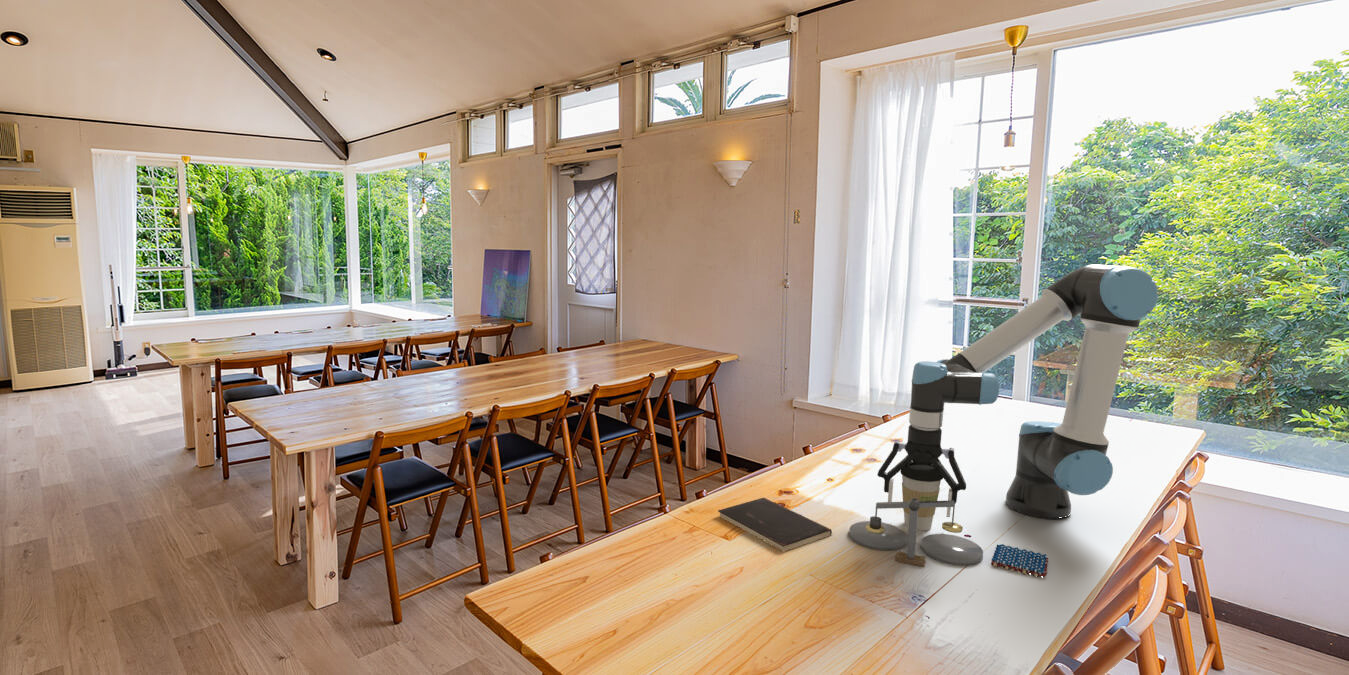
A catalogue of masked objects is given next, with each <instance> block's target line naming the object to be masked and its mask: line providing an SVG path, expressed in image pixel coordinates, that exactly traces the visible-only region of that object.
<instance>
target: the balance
mask: <svg viewBox="0 0 1349 675" xmlns="http://www.w3.org/2000/svg"><path fill="white" fill-rule="evenodd" d="M955 506H956V504H955V503H954V500H950V501H948V500H937V501H919V500H918V499H916V498H913V499H911V501H910V502H903V501H892V502H888V501H883V502H882V501H880V502H879V501H878V502H876V503H875V515H874V516H870V517H869V521H870V524H867V525H866V530H867V531H868V532H871V533H875V534H881V533H884V531H885V528H884V527H883V526H882V525H881V522H882V518H881V517H879V516H878V510H879V509H881V510H882V509H883V510H885V509H887V510H888V509H903V508H910V516H909V528H908V530H907V531H908V534H907V544H906V552H903V551H898V550H897V551H896V554H895V556H894V557H895V560H894V561H895V562H897V563H902V564H906V565H912V566H916V567H922V568H924V567H925V565H926V556H923V555H919V554H916V544H917V533H918V532H917V531H918V530H917V521H918V509H919V508H932V507H936V508H947V507H951V508H952V516H951V517H952V519H951V521H945V522H942V524H941V529H943V530H944V531H946V532H949V533H953V534H954V533H955V534H958V533H962V532H963V529H964V528H963V526H962V525H961V524H959V523H956V522H954V518H955Z"/></svg>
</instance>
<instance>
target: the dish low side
mask: <svg viewBox="0 0 1349 675" xmlns="http://www.w3.org/2000/svg"><path fill="white" fill-rule="evenodd" d="M867 524H870V520H864V521H863V520H862V521H857V522H856V523H853V524H852V525H851V526H850V527H849V537H850V539H851V540H852V541H853V542H855V543H856V544H858V545H860V546H862V547H864V548H865V547H866V548H869V549H873V550H877V551H896V550H897V551H898V550H900V549H902V548H904V547H907V543H908V534H907V533H906V531H904V530H903V529H901V528H900V527H898V526H895V525H893V524H890V523H887V522H882V521H881V525H882V526H883V527H884V528H885V531H884V533H881V534H875V533H871V532H868V531H867V530H866V525H867Z"/></svg>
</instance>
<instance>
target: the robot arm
mask: <svg viewBox="0 0 1349 675" xmlns="http://www.w3.org/2000/svg"><path fill="white" fill-rule="evenodd" d="M1158 299H1159V291H1158V286H1157V283H1156V282H1155V280H1154V279H1153V277H1152V276H1151V275H1150V274H1149V273H1148V272H1146V271H1145V270H1142V269H1141V268H1138V267H1134V266H1128V265H1114V264H1113V265H1111V264H1110V265H1109V264H1098V263H1097V264H1096V263H1094V264H1093V263H1092V264H1088V265H1085V266H1081V267H1079V268H1077V269H1075V270H1073V271H1071V272H1070V273H1068V274H1066V275H1064V276H1062V277H1061V278H1060V279H1058V280H1057V281H1055V282H1054V283H1052V284H1051V285H1049V286H1047V288H1044V290H1042V292H1041V297H1038V299H1036V300H1035V301H1033V302H1032V303H1030V304H1029V305H1026V307H1024V308H1022V309H1021V310H1020V311H1018V312H1017V313H1016V314H1014V315H1013V316H1011V317H1010V318H1008V319H1007V320H1005V321H1004V322H1003V323H1001V324H1000V325H998V326H997V327H995V328H994V329H993V330H992V329H991V331H990V332H988V333H986V334H985V335H984V336H982V337H981V338H979V339H978V340H976V341H975V342H973V343H972V344H970V345H968V346H967V347H966V348H965V349H963V350H962V351H960V352H959V353H957V354H955V355H954V356H952V357H951V358H949V359H948V358H947V359H940V360H938V361H928V360H927V361H919V362H916V363H915V365H914V366H913V370H912V377H911V393H910V395H911V396H910V407H909V415H908V416H909V418H908V423H909V426H908V430H907V441H906V443H904V442H900V441H899V440H895V441H894V443H893V446H892V450H891V451H890V453H889V454H888V456H887V458H886V459H885V460H884V462H883V463H882V465H881V467H880V468H879V470H878V472H877V477H879V478H882V479H883V480H884V482H883V483H884V485H883V490H884V493H887V495H888V496H887V502H893V491H894V480H895V479H894V478H893V477H895V476H896V475H897V474H898V473H899V472H900V471H901V469H903V468H904V466H906V465H907V464H909V463H910V462H911V461H913V462H915V463H916V464H924V465H931V464H933V466H934V467H935V468H936V469H937V470H938V471H940V474H941V475H942V477H943V479H944V481H945V482H946V483H947V485H948V486H949V487H948V496H947V501H950V500H954V503H955V505H956V504H957V501H958V493H959V491H965V490H966V489H967V482H966V480H965V479H964V476H963V474H962V471H961V469H960V467H959V464H958V462H957V460H956V457H955V449H954V448H953V447H949V448H942V446H941V444H942V443H941V442H942V434H943V432H942V431H943V430H942V427H943V421H944V410H945V404H964V405H965V404H967V405H979V406H981V405H993V404H994V403H995V402H996V401H997V400H998V398H999V395H1000V383H999V379H998V377H997V376H996V375H995V374H994V373H992V372H987V371H989V370H990V369H991V368H993V367H994V366H996V365H997V364H999V363H1000V362H1002V361H1003V360H1005V359H1006V358H1008V357H1009V356H1011V355H1012V354H1014V353H1015V352H1018V350H1020V349H1021V348H1022V347H1024V346H1026V345H1027V344H1028V343H1031V341H1033V340H1035V339H1037V338H1038V337H1039V336H1041V335H1043V334H1044V333H1045V332H1047V331H1048V330H1050V329H1052V328H1053V327H1054V326H1056V325H1057V324H1059V323H1060V322H1062V321H1067V322H1068V321H1070V320H1073V318H1076V317H1077V316H1080V317H1079V319H1080V322H1082V324H1083V325H1084V327H1085V328H1084V333H1083V335H1082V336H1083V338H1082V341H1081V345H1080V349H1079V353H1078V357H1077V362H1076V366H1075V369H1074V374H1073V377H1072V382H1071V387H1070V390H1069V394H1068V399H1067V403H1066V408H1065V411H1064V415H1063V418H1062V423H1060V422H1052V421H1039V420H1038V421H1037V420H1036V421H1025V422H1023V423H1022V424H1021V426H1020V430H1019V433H1018V446H1017V447H1018V448H1017V460H1016V470H1015V476H1014V478H1013V480H1012V481H1011V485H1009V488H1008V490H1007V492H1006V496H1005V503H1006V505H1007V506H1008V507H1009V508H1010V509H1012V510H1014V511H1016V512H1017V513H1018V512H1019V513H1021V514H1023V513H1024V515H1027V516H1031V517H1034V516H1035V517H1036V518H1040V517H1042V518H1041V519H1047V518H1059V517H1065V516H1068V515H1069V514H1070V513H1071V512H1072V504H1071V503H1072V502H1071V500H1070V494H1069V493H1071V494H1073V495H1077V496H1089V495H1094V494H1095V493H1097V492H1098V491H1101V490H1103V489H1104V488H1105V487H1106V486H1107V485H1108V484H1109V483H1110V481H1111V479H1112V477H1113V473H1114V472H1113V471H1114V469H1113V468H1114V467H1113V463H1112V462H1111V460H1110V458H1109V457H1108V456H1107V453H1108V449H1109V448H1108V447H1109V440H1108V439H1107V437H1106V435H1105V434H1104V432H1105V428H1106V424H1107V419H1108V417H1109V413H1110V409H1111V404H1112V401H1113V397H1114V393H1115V388H1116V384H1117V381H1118V378H1119V372H1120V369H1121V364H1122V361H1123V357H1124V353H1125V349H1126V345H1127V340H1128V337H1129V335H1130V334H1131V333H1133V332H1134V331H1136V330H1138V329H1139V326H1140V322H1141V319H1142V318H1145V317H1146V316H1147V315H1148V314H1149V313H1150V314H1151V312H1152V311H1153V310H1154V308H1155V307H1156V305H1157V302H1158ZM902 450H904V451H905V452H906V453H907V455H906V456H905V457H904V458H903V459H902V460H900V461H899V462H898V463H897V464H896V465H895V466H894V467H892V468H891V469H889V471H887V470H888V468H889V466H890V465H891V464H892V462H893V460H894V459H895V457H896V456H897V454H898V452H902ZM942 455H944V457H945V459H946V460H947V459H948V463H949V465H950V467H951V470H952V472H953V474H954V476H955V478H956V481H957V482H956V481H955V479H954V478H953V477H952V476H951V474H950V473H949V471H948V470H947V469H946V467H945V466H944V465H943V464H942V461H941V460H940V459H939V458H940V457H941V456H942ZM886 471H887V472H886ZM946 508H947V509H946V517H945V518H951V508H952V507H946ZM1070 515H1071V514H1070ZM1070 515H1069V516H1070ZM1069 516H1068V517H1069Z"/></svg>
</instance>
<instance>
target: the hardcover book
mask: <svg viewBox="0 0 1349 675" xmlns="http://www.w3.org/2000/svg"><path fill="white" fill-rule="evenodd" d="M717 512H719V518H722V520H724V521H726V520H727V522H728V521H729V522H728V523H730V522H731V523H730V524H732V523H733V524H732V525H734V526H736V527H737V526H738V528H739V527H740V529H741V528H742V529H741V530H743V529H744V530H743V531H745V530H746V531H748V532H749V533H748V532H747V533H748V534H750V533H751V534H750V535H752V534H753V535H752V536H754V535H755V536H754V537H756V536H757V537H759V538H761V539H763V540H765V541H766V542H765V541H764V542H765V543H767V542H768V543H770V544H772V545H773V546H772V545H771V546H772V547H774V546H775V547H774V548H776V547H777V548H779V549H781V550H783V551H785V550H787V551H790V550H792V548H793V549H795V547H796V548H799V547H801V546H805V545H807V544H809V543H810V544H811V543H812V542H815V541H818V540H821V539H823V538H826V537H829V536H832V534H833V532H832V529H831V528H829V527H827V526H825V525H823V524H820V523H818V522H817V521H814V520H813V519H810V518H808V517H806V516H804V515H802V514H799V513H798V512H796V511H793V510H791V509H789V508H787V507H785V506H783V505H780V504H778V503H777V502H774V501H772V500H770V499H768V498H766V497H762V498H757V499H753V500H750V501H747V502H743V503H740V504H735V505H732V506H728V507H725V508H722V509H718V511H717ZM746 531H745V532H746ZM757 537H756V538H757ZM759 538H758V539H759ZM761 539H760V540H761ZM763 540H762V541H763ZM768 543H767V544H768ZM770 544H769V545H770ZM798 546H799V547H798ZM777 548H776V549H777ZM779 549H778V550H779ZM789 549H790V550H789ZM781 550H780V551H781ZM783 551H782V552H783ZM785 552H786V551H785Z"/></svg>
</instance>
